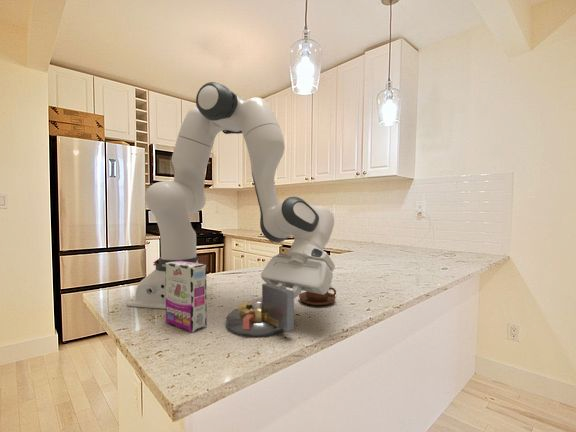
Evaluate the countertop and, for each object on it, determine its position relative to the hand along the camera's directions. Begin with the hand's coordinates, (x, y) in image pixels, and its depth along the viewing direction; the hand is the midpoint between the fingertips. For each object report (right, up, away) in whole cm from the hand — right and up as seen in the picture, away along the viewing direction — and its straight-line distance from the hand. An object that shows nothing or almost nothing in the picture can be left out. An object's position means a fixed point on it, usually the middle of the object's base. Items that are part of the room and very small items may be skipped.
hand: (282, 301), depth 74 cm
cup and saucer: (+11, -7, +23) cm, 26 cm away
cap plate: (-7, -7, +5) cm, 11 cm away
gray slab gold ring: (-4, -5, +2) cm, 7 cm away
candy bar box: (-26, -7, +4) cm, 27 cm away
